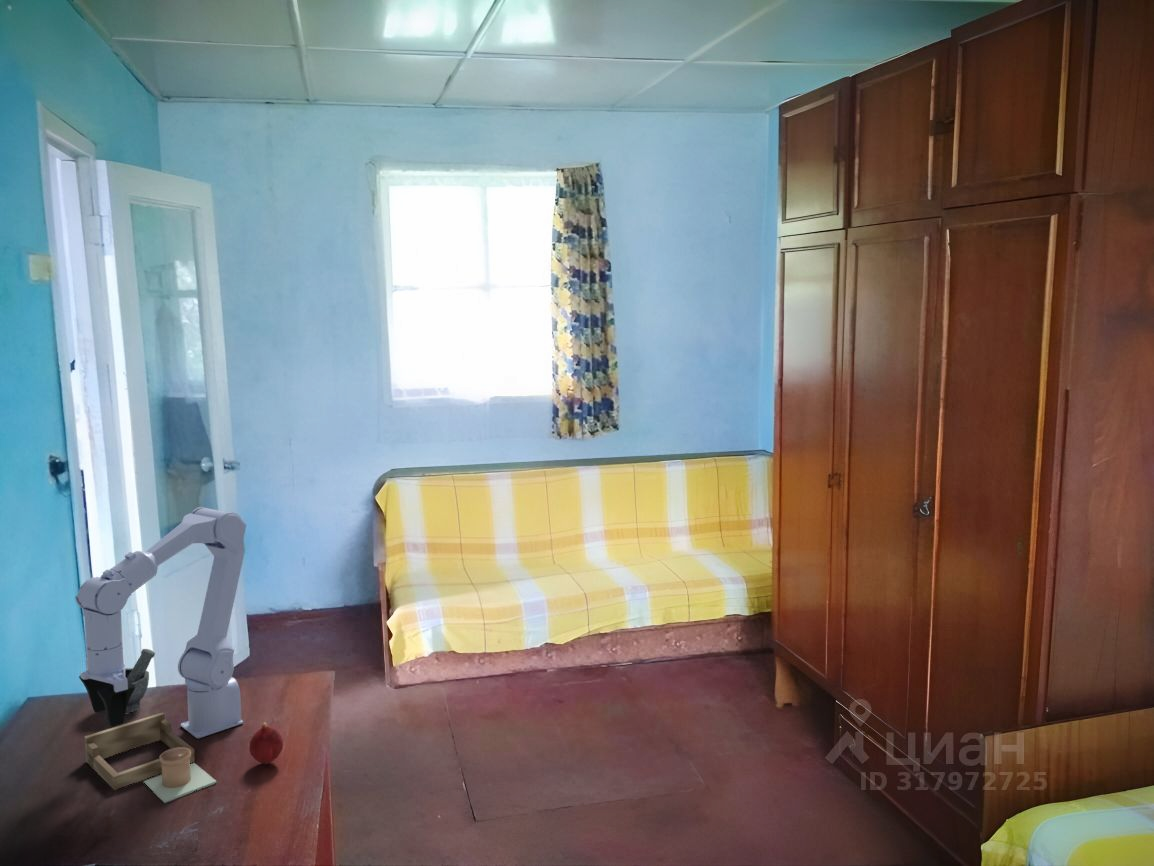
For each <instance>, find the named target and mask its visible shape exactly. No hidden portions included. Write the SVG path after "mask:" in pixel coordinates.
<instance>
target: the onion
mask: <svg viewBox="0 0 1154 866" xmlns="http://www.w3.org/2000/svg"><path fill="white" fill-rule="evenodd" d="M283 746H284V741H283V738H282V735H281V733H280V732H279V731H278V730H277V729H276V728H274V727H271V726H270V725H269V724H268V723H267V722H266V721H265V722H263V723H262V725H261V728H259V729H258V730H256V732H255V733H254V734H253V735H252V737H251V739H250V741H249V753H250V755H251V756H252V757H253V759H254V760H255V761H256V762H259V763H260V764H263V765H266V764H267V765H269V764H270V763H272V762H274V761H275V760H276V759H277V758H279V755H280V754H281V753H282V750H283Z"/></svg>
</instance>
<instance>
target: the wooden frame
mask: <svg viewBox="0 0 1154 866" xmlns="http://www.w3.org/2000/svg"><path fill="white" fill-rule="evenodd" d="M165 716H166V715H165V713H164V712H160V713H156V714H153V715H150V716H146V717H144V718H141V719H136V720H133V721H130V722H127V723H122V724H119V725H116V726H113V727H111V728H106V729H104V730H101V731H98V732H95V733H91V734H88V735H84V749H85V750H84V751H85V763H88V764H89V765H88V766H89V767H90V768H91V769H92V770H93V769H94V770H95V771H96V772H97V773H98V774H97V773H96V772H95V771H94V770H93V771H94V772H95V773H96V774H97V775H98V776H99V775H100V776H101V777H102V778H103V779H104V780H105V781H106V782H107V783H108V784H109V785H110V786H111V787H112V788H113V789H114V790H115V791H117V790H116V789H118V788H121V787H123V786H126V785H128V784H132V783H134V782H137V781H140V780H143V779H146V780H148V779H147V778H149V779H151V778H153V777H152V776H154V777H156V776H159V774H160V775H162V767H161V764H160V758H157V759H154V760H152V761H149V762H146V763H143V764H140V765H136V766H134V767H131V768H128V769H125V770H122V771H120V772H118V771H116V769H114V768H113V767H112V766H111V764H109V763H108V762H107V761H106V760H105V759H107V758H110V756H111V757H113V755H114V756H116V755H115V754H117V755H119V754H118V753H120V752H123V753H125V752H124V751H126V750H128V749H131V748H134V747H138V746H141V745H144V746H146V745H145V744H147V745H149V744H148V743H150V744H152V743H151V742H153V743H156V742H159V741H161V742H162V743H164V745H166V746H167V747H168V748H169V749H173V748H179V747H184V748H188V749H190V750H191V758H190V763H191V764H193V763H195V762H196V761H195V759H196V757H195V748H193V747H192V746H191V745H189V744H188V743H187V742H186V741H185V740H183V739H182V738H181V737H179V736H178V735H177V734H176V733H175V732H173V731H172V730H173V729H172V723H171V722H170V721H168V720H167V719H166V717H165ZM155 741H156V742H155ZM141 747H142V746H141ZM138 748H139V747H138ZM126 752H127V751H126ZM120 754H121V753H120ZM192 762H193V763H192ZM100 776H99V777H100ZM101 777H100V778H101ZM150 777H151V778H150ZM102 778H101V779H102ZM103 779H102V780H103ZM104 780H103V781H104ZM105 781H104V782H105ZM143 781H144V780H143ZM106 782H105V783H106ZM140 782H141V781H140ZM107 783H106V784H107ZM137 783H138V782H137ZM108 784H107V785H108ZM109 785H108V786H109ZM132 785H133V784H132ZM110 786H109V787H110ZM111 787H110V788H111ZM126 787H127V786H126ZM112 788H111V789H112ZM113 789H112V790H113ZM121 789H122V788H121ZM114 790H113V791H114ZM118 790H119V789H118Z"/></svg>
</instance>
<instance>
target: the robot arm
mask: <svg viewBox="0 0 1154 866" xmlns="http://www.w3.org/2000/svg"><path fill="white" fill-rule="evenodd" d="M246 529H247V524H246V523H245V521H244V520H243V519H242V517H241V516H240V515H239V514H238V513H236V512H234V511H223V510H218V509H214V508H208V507H206V506H199V507H196V508H195V509H193V510H192V511H191V512H190V513H188V514H185V515H184V516H183V517H182V521H181V522H180V523H179V524H178V525H177V526H175V528H173V529H172V530H171V531H169V532H168V533H167V534H165V535H164V537H162V538H161V539H159V540H158V541H157V542H156V543H155V544H153V545H152V546H151V547H150V548H148V549H147V550H146V551H141V550H140V551H139V550H136V551H134V552H128V553H127V554H125V555H124V559H123V560H121V561H120V562H119V563H117V564H115V565H114V566H112V567H111V568H109V569H106V570H104V571H102V574H101V575H100V576H96V577H95V576H93V577H90V578H88V579H86V581H84V582H83V583H82V584H81V586H80V587H79V589H78V592H77V595H75V597H74V599H75V602H76V604H77V606H79V607H80V608H81V610H82V614H83V615H82V616H83V617H84V632H85V633H84V634H85V648H86V650H85V651H86V658H85V669H86V671H82V672H80V673H79V676H78V678H79V680H80V681H81V682H82V684H83V685H84V687H85V689H86V692H87V694H88V698H89V701H90V704H91V708H92V709H93V711H94V713H96V714H98V713H100V712H103V711H105V713H106V718H107V721H108V725H109V726H110V727H111V728H113V727H117V726H120V725H123V724H124V721H125V718H126V715H127V714H126V709H127V705H128V702H129V699H130V697H131V695H132V693H133V692H134V690H135V685H133V684H132V683H130V684H128V682H127V678H126V677H125V669H126V664H125V663H124V662H125V660H124V645H123V644H124V643H123V627H122V610H123V609H124V608H125V606H126V604H127V602H128V599H129V598H130V596H132V594H133V593H134V592H136V591H137V590H138V589H140V588H141V587H142V586H145V584H146V583H147V582H149V581H150V580H152V579H153V578H154V577H155V576H157V573H158V569H159V567H160V565H161V564H164V562H167V561H168V560H169V559H172V558H173V557H174V556H176V555H178V553H180V552H181V551H184V550H185V549H186V548H188V547H189V546H191V545H193V544H204V545H205V547H207V549H208V550H209V552H210V553H211V554H212V555H213V561H212V566H211V571H210V576H209V578H208V585H207V588H206V589H207V590H206V594H205V598H204V602H203V607H202V611H201V616H200V620H199V625H198V631H197V633H196V635H194V636H193V637H192V638H190V639H189V640H188V641H187V642H186V645H185V649H184V651H183V653H182V655H181V656H180V657H179V660H178V663H177V671H178V673H179V675H180V677H181V678H183V679H184V684H185V685H186V691H187V692H186V694H187V715H188V716H187V717H188V720H187V721H184V722H181V724H180V727H182V728H183V729H184V730H185V731H187V732H188V733H189V734H191V736H193V737H195V738H196V739H201V738H204V737H206V736H210V735H213V734H216V733H218V732H219V733H220V732H222V731H225V730H228V729H230V728H233V727H236V726H240V725H242V724H243V723H244V720H243V719H242V704H241V703H242V701H241V700H242V699H241V690H240V685H239V683H238V680H237V679H236V678H235V677H233V674H234V669H235V663H234V651H235V650H234V648H233V646H232V645H231V643H230V641H229V640H228V638H227V637H228V632H229V625H230V621H231V617H232V613H233V608H234V603H235V599H236V594H237V590H238V584H239V580H240V575H241V571H242V566H243V562H244V557H245V551H246V550H245V548H246V547H245V541H244V540H245V539H244V538H245V534H246Z"/></svg>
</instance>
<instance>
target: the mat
mask: <svg viewBox="0 0 1154 866" xmlns="http://www.w3.org/2000/svg"><path fill="white" fill-rule="evenodd" d="M190 771H191V780H190V781H189V782H188V783H187V784H185V785H183V786H180V787H176V788H167V787H164V786H163V785H162V774H160V775H157V776H154V777H151V778H149V779H146V780H143V784H144V783H145V784H146V785H147V786H148V787H149V788H150V789H151V790H152V791H153V792H152V793H153V794H155V795H156V796H157V797H158V798H159V800H161V801H162V802H163V803H164V804H167V803H168V802H171V801H174V800H176V799H178V798H181V797H184V796H187V795H189V794H192V793H195V792H197V791H199V790H202V788H203V789H206V788H207V787H210V786H212V785H215V783H216V784H217V780H216V779H214V778H213V777H212V776H211V775H210V774H209V773H207V772H206V771H205V770H204V769H202V767H201V766H199V765H198V764H197V763H195V762H193V763H191V764H190ZM145 784H144V785H145ZM146 785H145V786H146ZM147 786H146V787H147ZM148 787H147V788H148ZM149 788H148V789H149ZM150 789H149V790H150ZM151 790H150V791H151ZM196 790H197V791H196ZM194 791H195V792H194Z"/></svg>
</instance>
